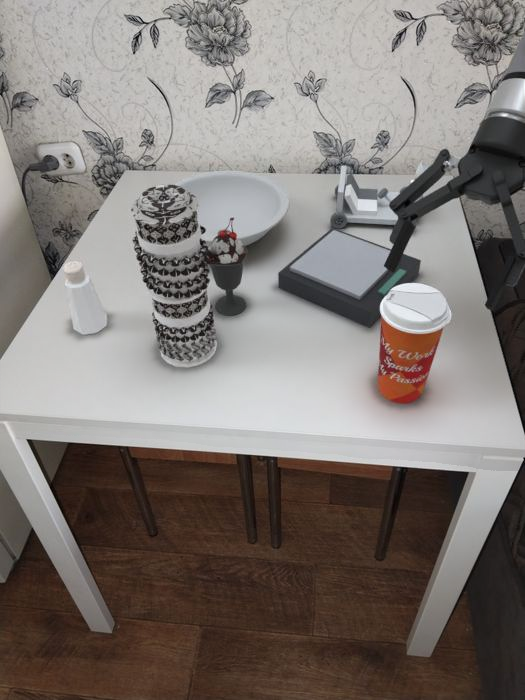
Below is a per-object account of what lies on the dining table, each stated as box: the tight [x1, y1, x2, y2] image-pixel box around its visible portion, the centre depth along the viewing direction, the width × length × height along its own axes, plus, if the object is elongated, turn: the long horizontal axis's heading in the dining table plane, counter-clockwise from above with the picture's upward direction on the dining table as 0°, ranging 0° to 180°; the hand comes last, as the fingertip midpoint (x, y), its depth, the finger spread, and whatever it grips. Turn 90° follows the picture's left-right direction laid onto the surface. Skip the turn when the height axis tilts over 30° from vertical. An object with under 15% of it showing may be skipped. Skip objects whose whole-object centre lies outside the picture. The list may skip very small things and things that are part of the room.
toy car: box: [330, 160, 430, 230], centre depth 108 cm, size 18×10×12 cm
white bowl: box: [171, 169, 290, 248], centre depth 106 cm, size 24×24×7 cm
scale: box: [277, 227, 422, 328], centre depth 96 cm, size 17×16×4 cm
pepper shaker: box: [62, 260, 108, 336], centre depth 88 cm, size 5×5×11 cm
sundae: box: [206, 218, 249, 316], centre depth 88 cm, size 7×7×15 cm
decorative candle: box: [130, 183, 218, 368], centre depth 78 cm, size 9×9×25 cm
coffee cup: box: [377, 282, 452, 404], centre depth 75 cm, size 8×8×15 cm
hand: (436, 288), depth 74 cm, fingers open, 13 cm apart
